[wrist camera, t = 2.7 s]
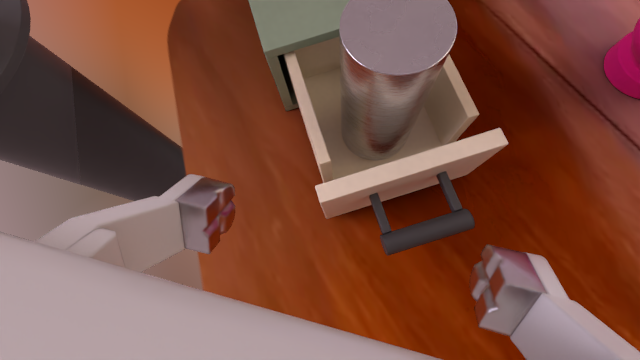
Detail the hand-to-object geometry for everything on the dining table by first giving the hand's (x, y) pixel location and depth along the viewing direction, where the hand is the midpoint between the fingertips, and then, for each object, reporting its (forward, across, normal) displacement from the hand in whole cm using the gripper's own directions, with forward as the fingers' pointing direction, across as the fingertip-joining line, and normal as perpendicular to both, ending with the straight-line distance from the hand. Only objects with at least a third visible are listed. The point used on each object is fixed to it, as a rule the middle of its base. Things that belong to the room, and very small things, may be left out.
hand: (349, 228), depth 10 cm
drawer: (+18, -1, +4) cm, 18 cm away
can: (+18, 0, +3) cm, 18 cm away
